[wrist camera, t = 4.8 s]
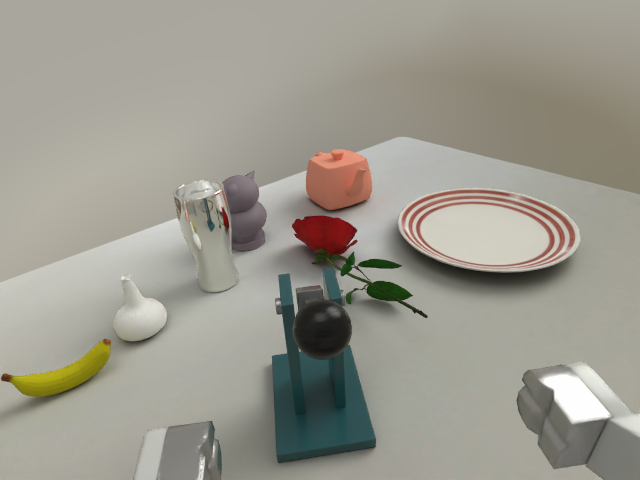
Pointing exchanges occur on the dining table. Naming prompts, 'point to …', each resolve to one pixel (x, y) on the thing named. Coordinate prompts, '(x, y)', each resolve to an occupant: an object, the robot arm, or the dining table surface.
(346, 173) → the teapot
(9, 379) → the fruit
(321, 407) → the teal lever stand
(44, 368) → the dining table surface
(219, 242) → the beer glass
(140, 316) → the garlic bulb
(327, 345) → the ball knob lever
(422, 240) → the dinner plate
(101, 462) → the dining table surface
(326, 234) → the flower
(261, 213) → the cat figurine
